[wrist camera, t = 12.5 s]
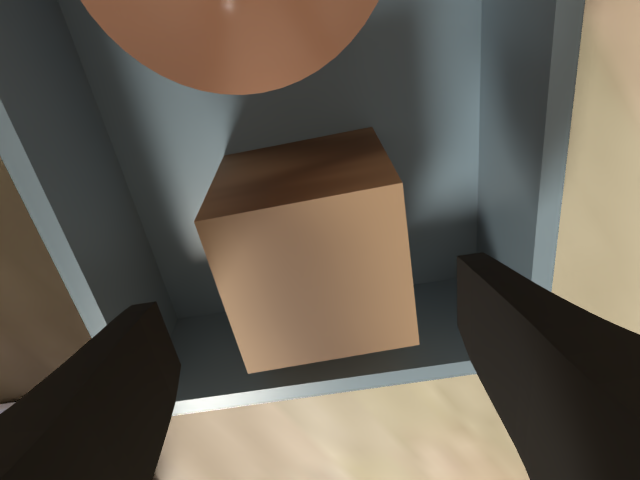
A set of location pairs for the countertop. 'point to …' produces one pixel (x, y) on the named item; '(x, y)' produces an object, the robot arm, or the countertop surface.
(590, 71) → the countertop surface
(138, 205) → the tote
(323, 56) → the terracotta capsule
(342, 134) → the walnut cube
